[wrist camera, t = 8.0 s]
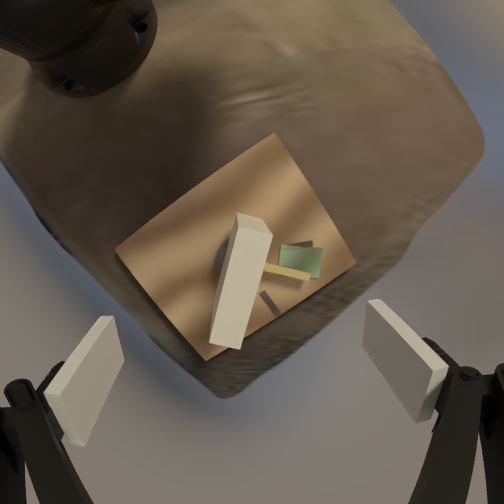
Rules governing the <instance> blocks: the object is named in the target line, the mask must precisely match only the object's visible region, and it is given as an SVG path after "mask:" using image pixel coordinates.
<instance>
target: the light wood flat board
mask: <svg viewBox="0 0 504 504" xmlns="http://www.w3.org/2000/svg"><path fill="white" fill-rule="evenodd" d="M236 212H237V213H241V214H245V215H249V216H253V217H257V218H260V219H262V220H263V221H264V223H265V224H266V226H267V227H268V229H269V230H270V231H271V233H272V234H273V238H272V241H271V245H270V248H269V252H268V255H267V259H266V263H270V264H274V265H278V266H282V267H287V268H291V269H295V270H299V271H303V272H307V273H310V274H311V277H310V280H309V281H306V280H302V279H298V278H294V277H289V276H285V275H281V274H276V273H272V272H268V271H264V270H263V273H262V276H261V280H260V283H259V286H258V290H257V293H256V297H255V300H254V304H253V307H252V310H251V314H250V317H249V321H248V324H247V327H246V331H245V334H244V338H245V337H246V336H248V335H250V334H251V333H253V332H254V331H256V330H258V329H259V328H261V327H262V326H264V325H266V324H267V323H269V322H270V321H272V320H273V319H275V318H276V317H278V316H279V315H281V314H283V313H284V312H286V311H287V310H289V309H290V308H292V307H293V306H295V305H296V304H298V303H299V302H301V301H302V300H304V299H305V298H307V297H308V296H310V295H311V294H313V293H314V292H316V291H317V290H319V289H320V288H322V287H323V286H324V285H326V284H327V283H329V282H330V281H332V280H333V279H335V278H336V277H337V276H339V275H340V274H342V273H343V272H345V271H346V270H347V269H349V268H350V267H352V266H353V265H354V264H356V261H355V259H354V257H353V256H352V254H351V252H350V250H349V249H348V247H347V245H346V244H345V242H344V240H343V238H342V237H341V235H340V233H339V232H338V230H337V228H336V227H335V225H334V223H333V222H332V220H331V218H330V217H329V215H328V214H327V212H326V210H325V209H324V207H323V205H322V204H321V202H320V201H319V199H318V197H317V196H316V194H315V193H314V191H313V190H312V188H311V186H310V185H309V183H308V182H307V180H306V179H305V177H304V176H303V174H302V173H301V171H300V170H299V168H298V166H297V165H296V163H295V162H294V160H293V159H292V157H291V156H290V155H289V153H288V152H287V150H286V149H285V147H284V146H283V144H282V143H281V141H280V140H279V138H278V137H277V136H276V134H275V133H273V134H271V135H270V136H268V137H267V138H265V139H264V140H262V141H261V142H259V143H258V144H256V145H255V146H253V147H252V148H250V149H248V150H247V151H246V152H244V153H243V154H241V155H240V156H238V157H237V158H235V159H234V160H232V161H231V162H229V163H228V164H226V165H225V166H223V167H222V168H221V169H219V170H218V171H216V172H215V173H213V174H212V175H211V176H209V177H208V178H206V179H205V180H204V181H202V182H201V183H199V184H198V185H197V186H195V187H194V188H193V189H191V190H190V191H188V192H187V193H186V194H184V195H183V196H182V197H180V198H179V199H178V200H176V201H175V202H174V203H172V204H171V205H170V206H168V207H167V208H166V209H164V210H163V211H162V212H160V213H159V214H158V215H157V216H155V217H154V218H153V219H151V220H150V221H149V222H148V223H146V224H145V225H144V226H142V227H141V228H140V229H139V230H137V231H136V232H135V233H134V234H132V235H131V236H130V237H129V238H127V239H126V240H125V241H124V242H123V243H121V244H120V245H119V246H118V247H116V248H115V249H114V250H115V251H116V253H117V254H118V256H119V257H120V258H121V260H122V261H123V262H124V264H125V265H126V266H127V268H128V269H129V270H130V271H131V273H132V274H133V275H134V277H135V278H136V279H137V281H138V282H139V283H140V284H141V286H142V287H143V288H144V289H145V291H146V292H147V293H148V294H149V296H150V297H151V298H152V299H153V301H154V302H155V303H156V304H157V306H158V307H159V308H160V309H161V310H162V312H163V313H164V314H165V315H166V316H167V318H168V319H169V320H170V321H171V322H172V323H173V325H174V326H175V327H176V328H177V329H178V330H179V332H180V333H181V334H182V335H183V336H184V337H185V339H186V340H187V341H188V342H189V343H190V344H191V345H192V346H193V348H194V349H195V350H196V351H197V352H198V353H199V354H200V355H201V356H202V358H203V359H204V360H205V361H207V360H209V359H210V358H212V357H214V356H215V355H217V354H219V353H220V352H222V351H224V350H225V349H227V348H229V347H226V346H221V345H216V344H212V343H209V337H210V329H211V320H212V312H213V303H214V299H215V295H216V290H217V286H218V282H219V278H220V274H219V272H218V270H217V268H216V254H217V250H218V248H219V246H220V245H221V243H222V242H224V241H225V240H226V239H228V238H230V235H231V231H232V227H233V224H234V220H235V216H236Z"/></svg>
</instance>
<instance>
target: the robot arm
mask: <svg viewBox="0 0 504 504" xmlns="http://www.w3.org/2000/svg"><path fill="white" fill-rule="evenodd" d="M156 31H157V13H156V10H155V7H154V5H153V3H152V1H151V0H0V48H2V49H4V50H6V51H9V52H11V53H13V54H16V55H18V56H20V57H22V58H24V59H26V60H27V61H28V63H29V64H30V66H31V68H32V69H33V71H34V72H35V74H36V76H37V77H38V79H39V80H40V81H41V82H42V83H43V84H44V85H45V86H46V87H47V88H49V89H51V90H53V91H55V92H57V93H60V94H62V95H65V96H69V97H87V96H92V95H95V94H98V93H101V92H104V91H106V90H108V89H110V88H112V87H113V86H115V85H117V84H118V83H120V82H121V81H123V80H124V79H125V78H126V77H128V76H129V75H130V74H131V73H132V72H133V71H134V70H135V69H136V68H137V67H138V66H139V65H140V63H141V62H142V61H143V59H144V58H145V57H146V55H147V54H148V52H149V50H150V48H151V46H152V44H153V41H154V39H155V36H156ZM362 346H363V348H364V349H365V351H366V352H367V353H368V355H369V356H370V358H371V359H372V361H373V362H374V363H375V365H376V366H377V368H378V369H379V371H380V372H381V374H382V375H383V377H384V378H385V379H386V381H387V382H388V384H389V385H390V387H391V388H392V389H393V391H394V393H395V394H396V395H397V397H398V398H399V400H400V401H401V403H402V404H403V406H404V407H405V409H406V410H407V412H408V413H409V415H410V416H411V418H412V419H413V421H414V422H415V424H417V423H419V422H423V421H426V420H429V419H431V416H432V414H433V411H434V409H436V411H437V412H438V413H439V415H438V418H437V420H436V423H435V425H434V427H433V430H432V432H433V435H432V438H431V442H430V445H429V448H428V451H427V454H426V458H425V461H424V464H423V466H422V469H421V472H420V475H419V478H418V480H417V483H416V486H415V488H414V491H413V493H412V496H411V498H410V501H409V503H408V504H465V503H466V499H467V495H468V491H469V486H470V481H471V477H472V472H473V466H474V461H475V455H476V448H477V440H478V433H479V435H480V441H481V447H482V454H483V461H484V468H485V476H486V487H487V500H488V504H504V363H502V364H499V365H498V366H497V368H496V369H495V373H494V374H491V375H482V374H481V373H480V372H479V371H478V370H476V369H475V368H472V367H467V366H464V367H460V366H459V365H458V364H457V363H456V362H455V361H454V360H453V359H452V358H451V357H450V356H449V355H448V354H447V353H445V352H444V350H443V349H440V347H439V346H438V345H437V344H436V343H435V342H434V341H432V340H430V339H428V338H426V337H425V338H420V337H419V336H418V335H417V334H416V333H415V332H414V331H413V330H412V329H411V328H410V327H409V326H408V325H407V324H406V323H405V322H404V321H403V320H401V319H400V318H399V317H398V316H397V315H396V314H395V313H394V312H393V311H392V310H391V309H390V308H389V307H388V306H387V305H386V304H385V303H384V302H383V301H381V300H380V299H376V300H368V301H367V306H366V316H365V325H364V333H363V341H362ZM123 363H124V357H123V353H122V349H121V345H120V341H119V337H118V333H117V329H116V325H115V320H114V316H100V317H99V319H98V320H97V321H96V323H95V324H94V325H93V326H92V328H91V329H90V330H89V332H88V333H87V334H86V335H85V337H84V338H83V339H82V341H81V342H80V343H79V345H78V346H77V347H76V349H75V350H74V351H73V353H72V354H71V355H70V357H69V358H68V359H67V361H61V362H60V363H58V364H57V365H55V366H54V367H53V368H52V369H51V371H50V372H49V375H47V376H46V378H45V380H43V382H42V383H41V384H40V386H39V387H38V388H37V390H36V391H35V389H34V387H33V385H32V383H31V382H30V381H29V380H27V379H17V380H14V381H12V382H10V383H9V384H8V385H7V386H6V387H5V389H4V394H5V396H6V398H7V400H8V402H9V404H10V406H11V407H4V408H1V407H0V504H27V502H26V488H25V462H26V466H27V469H28V472H29V475H30V478H31V481H32V484H33V487H34V489H35V492H36V495H37V497H38V500H39V503H40V504H94V503H93V502H92V500H91V498H90V497H89V495H88V493H87V491H86V489H85V488H84V486H83V484H82V482H81V480H80V478H79V476H78V474H77V472H76V471H75V468H74V466H73V464H72V463H71V460H70V458H69V456H68V454H67V452H66V450H65V447H64V445H63V444H62V442H61V439H62V437H63V435H65V437H66V439H67V440H68V442H69V443H70V444H73V445H79V446H84V447H85V446H86V443H87V441H88V439H89V436H90V434H91V432H92V429H93V427H94V425H95V422H96V420H97V418H98V416H99V414H100V411H101V409H102V407H103V405H104V403H105V400H106V398H107V396H108V394H109V392H110V390H111V388H112V385H113V383H114V381H115V379H116V377H117V375H118V373H119V371H120V369H121V366H122V365H123Z"/></svg>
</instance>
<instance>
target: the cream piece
mask: <svg viewBox="0 0 504 504" xmlns="http://www.w3.org/2000/svg"><path fill="white" fill-rule="evenodd" d="M272 238H273V234H272V233H271V231H270V230H269V229H268V227H267V226H266V224H265V223H264V221H263V220H262V219H260V218H257V217H253V216H249V215H245V214H241V213H237V212H236V216H235V220H234V224H233V227H232V231H231V235H230V238H228V239H226V240H225V241H224V242H222V243H221V245H220V246H219V248H218V250H217V254H216V268H217V270H218V272H219V274H220V278H219V282H218V286H217V290H216V295H215V299H214V303H213V312H212V320H211V329H210V337H209V343H212V344H216V345H221V346H226V347H230V348H235V349H240V348H241V344H242V341H243V338H244V334H245V331H246V327H247V324H248V321H249V317H250V314H251V310H252V307H253V304H254V300H255V297H256V293H257V290H258V286H259V283H260V280H261V276H262V273H263V270H264V271H268V272H272V273H276V274H281V275H285V276H289V277H294V278H298V279H302V280H306V281H309V280H310V277H311V274H310V273H307V272H303V271H299V270H295V269H291V268H287V267H282V266H278V265H274V264H270V263H266V259H267V255H268V252H269V248H270V245H271V241H272Z"/></svg>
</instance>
